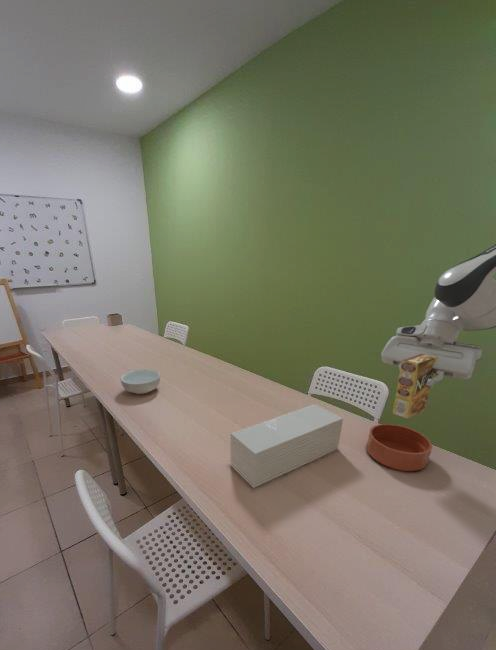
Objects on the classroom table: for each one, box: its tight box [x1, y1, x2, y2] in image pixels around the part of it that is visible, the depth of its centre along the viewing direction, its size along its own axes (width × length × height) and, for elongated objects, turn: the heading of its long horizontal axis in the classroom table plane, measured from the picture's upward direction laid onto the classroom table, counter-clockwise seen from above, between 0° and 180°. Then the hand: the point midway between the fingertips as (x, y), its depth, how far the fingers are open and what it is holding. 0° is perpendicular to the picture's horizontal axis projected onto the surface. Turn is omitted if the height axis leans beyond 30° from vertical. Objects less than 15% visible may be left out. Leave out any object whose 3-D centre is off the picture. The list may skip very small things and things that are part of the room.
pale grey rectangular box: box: [229, 403, 344, 489], centre depth 86 cm, size 32×11×11 cm, turn 120°
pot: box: [365, 423, 433, 472], centre depth 86 cm, size 15×15×6 cm
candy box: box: [392, 354, 437, 420], centre depth 78 cm, size 9×4×15 cm, turn 120°
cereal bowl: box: [120, 368, 161, 395], centre depth 133 cm, size 17×17×7 cm
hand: (414, 383), depth 78 cm, fingers closed on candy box, 5 cm apart
